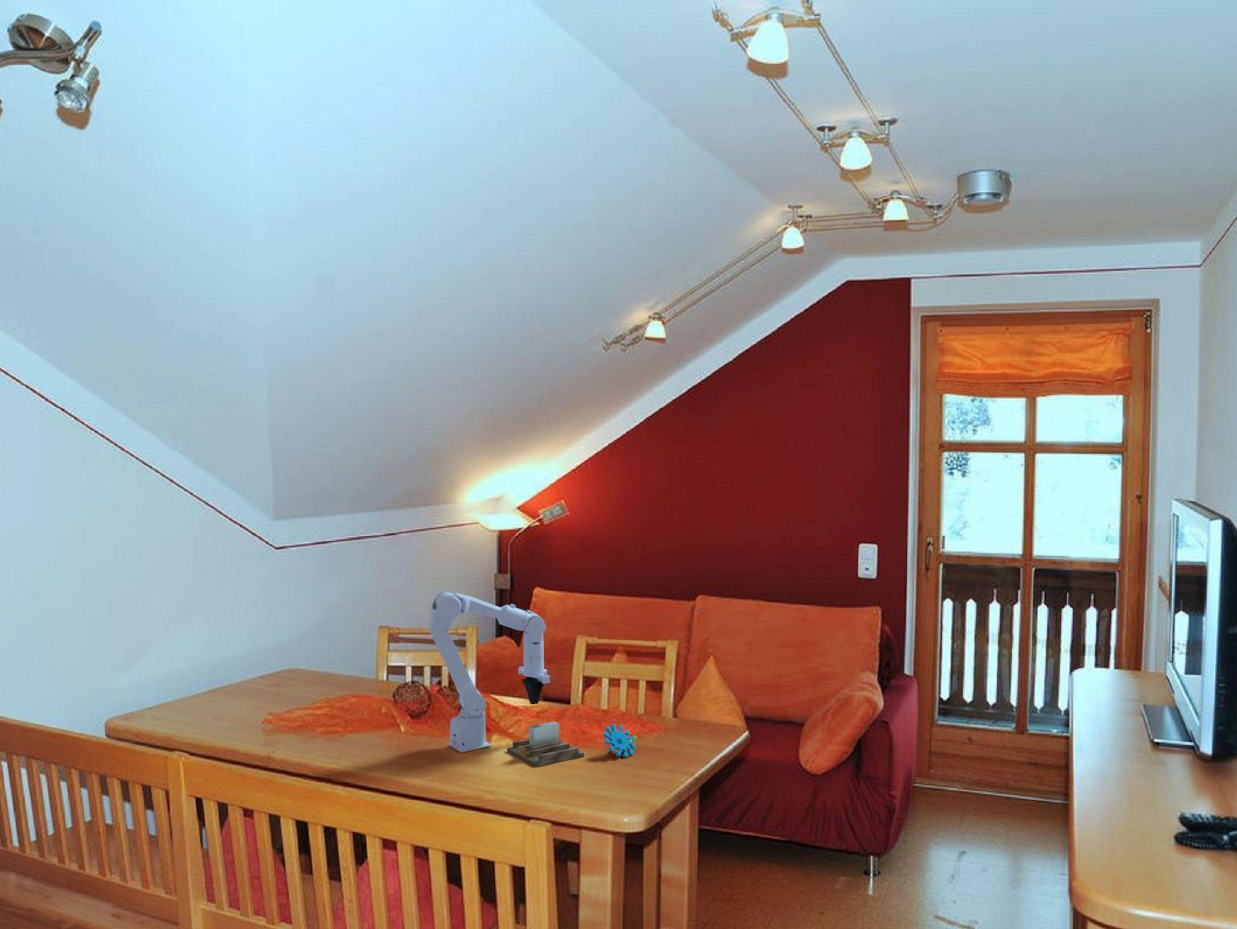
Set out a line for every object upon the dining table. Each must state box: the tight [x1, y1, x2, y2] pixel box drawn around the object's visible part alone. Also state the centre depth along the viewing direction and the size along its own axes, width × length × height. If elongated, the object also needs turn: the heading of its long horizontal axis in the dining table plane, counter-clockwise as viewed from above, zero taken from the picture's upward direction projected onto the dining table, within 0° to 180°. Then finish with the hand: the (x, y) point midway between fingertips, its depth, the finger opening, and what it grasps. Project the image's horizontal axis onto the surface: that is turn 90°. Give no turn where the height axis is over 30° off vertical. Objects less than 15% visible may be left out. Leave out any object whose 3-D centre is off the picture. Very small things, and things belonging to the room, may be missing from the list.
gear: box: [602, 723, 638, 758], centre depth 284 cm, size 11×6×10 cm
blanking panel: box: [528, 721, 560, 751], centre depth 283 cm, size 8×2×7 cm, turn 124°
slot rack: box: [506, 738, 585, 768], centre depth 283 cm, size 15×16×3 cm
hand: (534, 703), depth 296 cm, fingers closed
